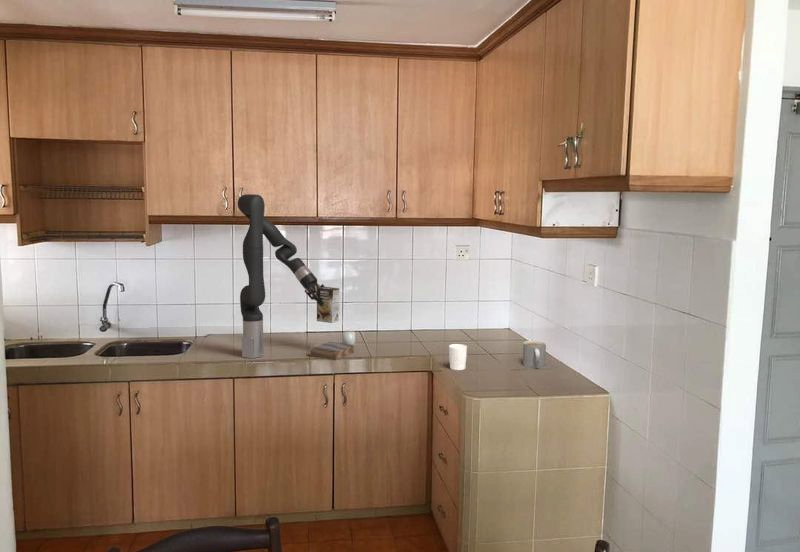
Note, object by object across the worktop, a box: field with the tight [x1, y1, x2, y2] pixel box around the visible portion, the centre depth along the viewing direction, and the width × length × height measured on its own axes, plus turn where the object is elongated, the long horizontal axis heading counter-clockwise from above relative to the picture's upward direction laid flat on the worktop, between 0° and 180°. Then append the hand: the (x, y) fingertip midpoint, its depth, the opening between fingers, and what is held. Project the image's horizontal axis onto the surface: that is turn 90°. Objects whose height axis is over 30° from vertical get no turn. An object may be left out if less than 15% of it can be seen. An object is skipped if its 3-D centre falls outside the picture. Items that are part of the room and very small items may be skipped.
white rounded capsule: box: [342, 330, 356, 350], centre depth 320 cm, size 6×6×8 cm
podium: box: [310, 341, 355, 361], centre depth 307 cm, size 16×14×4 cm
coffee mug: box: [522, 340, 547, 369], centre depth 290 cm, size 13×10×10 cm
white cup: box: [448, 343, 468, 371], centre depth 285 cm, size 8×8×10 cm
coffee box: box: [316, 286, 340, 324], centre depth 307 cm, size 9×6×16 cm
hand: (326, 303), depth 307 cm, fingers closed on coffee box, 6 cm apart
